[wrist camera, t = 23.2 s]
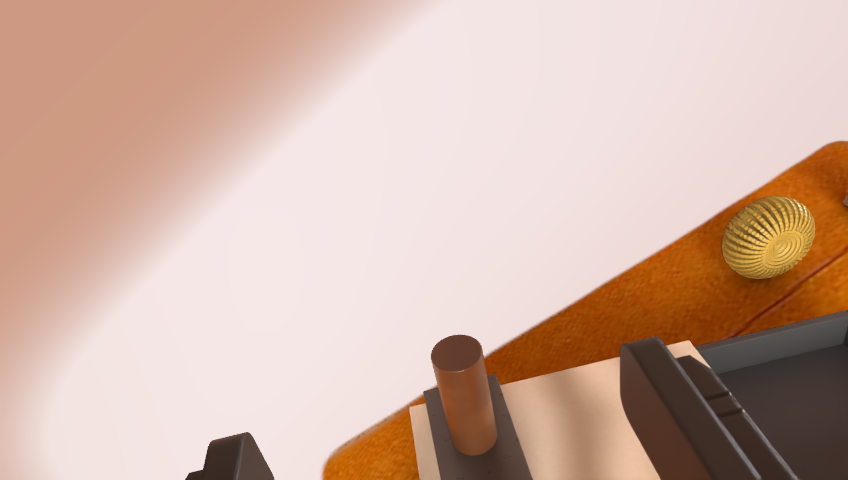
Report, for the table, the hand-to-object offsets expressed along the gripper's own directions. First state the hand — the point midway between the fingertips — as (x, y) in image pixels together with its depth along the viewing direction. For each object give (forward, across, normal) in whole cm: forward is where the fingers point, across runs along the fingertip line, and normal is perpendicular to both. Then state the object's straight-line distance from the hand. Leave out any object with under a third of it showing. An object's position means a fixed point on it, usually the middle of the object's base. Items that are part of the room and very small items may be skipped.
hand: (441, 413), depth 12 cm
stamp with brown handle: (+14, -1, +22) cm, 26 cm away
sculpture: (+31, -31, +28) cm, 52 cm away
